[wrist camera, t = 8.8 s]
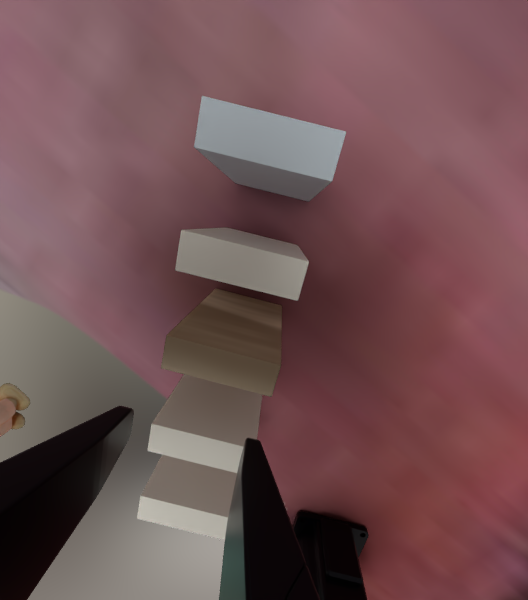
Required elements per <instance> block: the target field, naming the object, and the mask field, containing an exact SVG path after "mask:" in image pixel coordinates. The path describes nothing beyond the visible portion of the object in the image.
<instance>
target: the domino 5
mask: <svg viewBox="0 0 528 600" xmlns="http://www.w3.org/2000/svg"><path fill="white" fill-rule="evenodd" d="M236 476H237V473H234V472H230V471H226V470H222V469H218V468H214V467H210V466H206V465H202V464H198V463H194V462H190V461H186V460H182V459H178V458H174V457H170V456H166V455H162V456H161V458H160V460H159V462H158V464H157V466H156V467H155V470H154V471H153V473H152V475H151V477H150V479H149V481H148V483H147V485H146V487H145V488H144V490H143V492H142V494H141V496H140V503H139V509H138V516H137V518H138V519H141V520H145V521H149V522H154V523H157V524H161V525H165V526H169V527H173V528H177V529H181V530H185V531H189V532H193V533H197V534H201V535H205V536H209V537H213V538H217V539H221V540H225V535H226V527H227V521H228V515H229V511H230V506H231V501H232V496H233V491H234V486H235V481H236Z"/></svg>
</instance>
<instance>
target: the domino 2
mask: <svg viewBox="0 0 528 600" xmlns="http://www.w3.org/2000/svg"><path fill="white" fill-rule="evenodd" d="M308 264H309V261H308V259H307V258H306V257H305V255H304V254H303V252H302V251H301V249H300V248H299V247H298V245H295V244H291V243H287V242H283V241H279V240H275V239H271V238H267V237H263V236H259V235H255V234H251V233H247V232H243V231H239V230H235V229H231V228H227V227H225V228H206V229H187V230H181V235H180V241H179V248H178V254H177V261H176V267H175V270H176V271H180V272H184V273H188V274H192V275H196V276H200V277H204V278H208V279H212V280H216V281H220V282H224V283H228V284H232V285H236V286H240V287H244V288H248V289H252V290H256V291H260V292H264V293H268V294H272V295H276V296H280V297H284V298H288V299H292V300H296V301H298V299H299V295H300V292H301V288H302V285H303V281H304V278H305V274H306V271H307V267H308Z"/></svg>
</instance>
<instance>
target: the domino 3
mask: <svg viewBox="0 0 528 600" xmlns="http://www.w3.org/2000/svg"><path fill="white" fill-rule="evenodd" d="M281 337H282V306H281V305H277V304H274V303H270V302H266V301H262V300H258V299H255V298H251V297H247V296H243V295H239V294H235V293H232V292H228V291H224V290H220V289H215V290H214V291H213V292H211V293H210V294H209V295H208V296H207V297H206V298H205V299H204V300H203V301H202V302H201V303H200V304H199V305H198V306H197V307H196V308H195V309H194V310H193V311H192V312H190V313H189V314H188V315H187V316H186V317H185V318H184V319H183V320H182V321H181V322H180V323H179V324H178V325H177V326H176V327H175V328H174V329H173V330H172V331H171V332H169V333H168V334H167V336H166V341H165V347H164V353H163V359H162V365H161V368H162V369H166V370H170V371H174V372H178V373H182V374H185V375H189V376H193V377H197V378H201V379H205V380H208V381H212V382H216V383H220V384H224V385H227V386H231V387H235V388H239V389H243V390H247V391H250V392H254V393H258V394H262V395H266V396H270V397H272V394H273V390H274V387H275V384H276V381H277V377H278V374H279V371H280V367H281Z"/></svg>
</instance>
